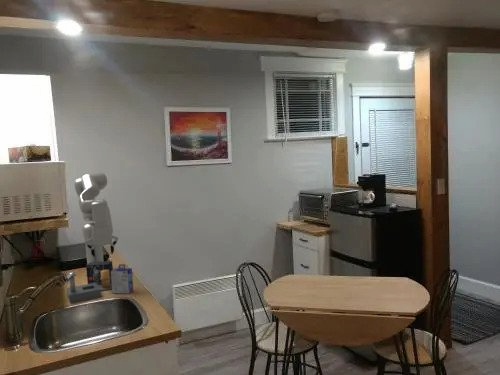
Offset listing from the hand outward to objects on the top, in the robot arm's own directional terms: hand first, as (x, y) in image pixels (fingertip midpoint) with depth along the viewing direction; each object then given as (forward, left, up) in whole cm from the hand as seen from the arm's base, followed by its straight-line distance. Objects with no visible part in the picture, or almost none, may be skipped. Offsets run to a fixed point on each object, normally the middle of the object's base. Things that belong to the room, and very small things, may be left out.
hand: (103, 254), depth 243 cm
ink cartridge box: (+14, +7, -19) cm, 24 cm away
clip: (+13, -19, -7) cm, 24 cm away
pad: (+1, 0, -18) cm, 18 cm away
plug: (+1, 0, -18) cm, 18 cm away
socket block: (+8, -12, -18) cm, 24 cm away
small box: (-10, -1, -19) cm, 21 cm away
